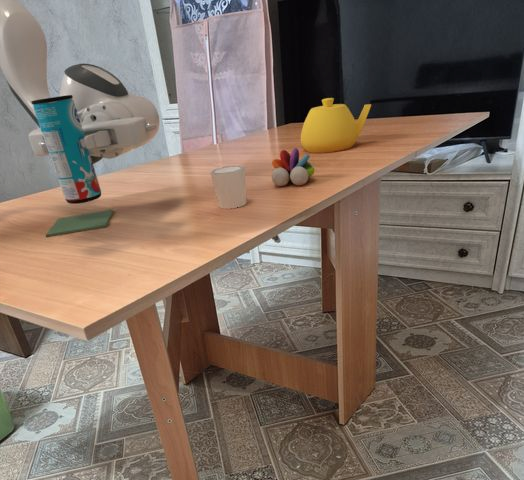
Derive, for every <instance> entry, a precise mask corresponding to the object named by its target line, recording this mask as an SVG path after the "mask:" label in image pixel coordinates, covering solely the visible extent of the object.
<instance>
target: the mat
mask: <svg viewBox="0 0 524 480" xmlns="http://www.w3.org/2000/svg"><path fill="white" fill-rule="evenodd" d="M113 214H114V209H113V208H112V209H111V208H110V209H106V210H100V211H93V212H88V213H82V214H75V215H70V216H69V215H68V216H63V217H58V219H56V221H55V222H54V223H53V225H52V226H51V227H50V228H49V230H48V231H47V232H46V233H45V237H46V238H50V237H56V236H61V235H68V234H73V233H79V232H86V231H90V230H91V231H92V230H98V229H103V228H107V227H108V224H109V222H110V220H111V219H112V215H113Z"/></svg>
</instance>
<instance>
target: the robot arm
mask: <svg viewBox="0 0 524 480" xmlns="http://www.w3.org/2000/svg"><path fill="white" fill-rule="evenodd" d="M47 66H48V45H47V39H46V35H45V33H44V30H43V28H42V26H41V24H40V23H39V22H38V20H37V19H36V17H35V16H34V15H33V14H32V12H30V11H29V10H28V9H27V8H26V7H24V5H22V3H20V2H19V1H17V0H0V69H1V71H2V73H3V75H4V77H5V79H6V83H7V85H8V87H9V89H10V91H11V93H12V95H13V96H14V98H15V99H16V100H17V102H19V104H20V105H21V106H22V108H23V109H24V110H25V111H26V113H27V114H28V115H29V116H30V118H31V119H32V120H33V121H34V123H35V124H36V126H38V128H35V129H34V130H31V131H30V132H29V133H28V140H29V144H30V147H31V149H32V151H33V153H34V155H35V156H37V157H44V156H50V154H49V152H48V149H47V146H46V143H45V140H44V137H43V134H42V131H41V129H40V126H39V123H38V120H37V117H36V114H35V111H34V108H33V106H34V105H33V104H32V101H35V100H40V99H46V98H52V97H51V94H50V91H49V86H48V75H47V73H48V72H47V70H48V69H47ZM66 95H72V96H73V98H72V99H73V100H74V103H75V106H76V110H77V113H78V116H79V119H80V123H81V126H82V129H83V132H84V136H82V137H80V138H79V143H80V144H81V145H80V146H81V148H82V149H83V150H85V149H89V152H90V156H91V159H92V162H93V165H95V164H96V163H98V162H100V161H102V159H107V160H108V159H109V160H110V159H114V158H118V157H120V156H122V155H125V154H126V153H128V152H131V151H132V150H134V149H137V148H140V147H143V146H145V145H146V144H148V143H149V142H150V141H152V139H154V137H156V135H157V133H158V131H159V128H160V115H159V111H158V108H157V107H156V106H155V104H154V103H153V102H152V101H151V100H150V99H148V98H146V97H144V96H141V95H136V94H132V93H130V92H129V91H128V89H127V88H126V86H125V85H124V84H123V83H122V82H121V80H120V79H119V78H118V77H116V75H115V74H113V73H112V72H110V71H109V70H107V69H105V68H103V67H101V66H98V65H95V64H90V63H77V64H74V65H71V66H68V67H67V68H66V69H64V73H63V76H62V80H61V86H60V91H59V95H58V97H59V96H66Z"/></svg>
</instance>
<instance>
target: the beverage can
mask: <svg viewBox="0 0 524 480" xmlns="http://www.w3.org/2000/svg"><path fill="white" fill-rule="evenodd" d="M72 98H73V96H72V95H66V96H59V95H58V96H53V97H51V98H46V99H40V100H35V101H32V104H33V105H34V106H33V108H34V111H35V114H36V117H37V120H38V123H39V126H40V129H41V131H42V134H43V137H44V140H45V143H46V146H47V149H48V152H49V154H50V155H49V157H50V160H51V163H52V166H53V169H54V172H55V175H56V177H57V181H58V183H59V187H60V189H61V192H62V194H63V197H64V200H65V201H66V202H67V203H68V204H71V205H78V204H86V203H89V202H93V201H95V200H97V199H99V198H100V197H101V196H102V189H101V186H100V183H99V180H98V177H97V173H96V170H95V166H94V164H93V162H92V159H91V156H90V152H89V149H85V150H83V149H82V148H81V146H80V145H81V144H80V143H79V138H80V137H82V136H84V132H83V129H82V126H81V123H80V119H79V116H78V113H77V110H76V106H75V103H74V100H73V99H72ZM39 126H38V127H39Z"/></svg>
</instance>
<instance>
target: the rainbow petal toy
mask: <svg viewBox="0 0 524 480" xmlns="http://www.w3.org/2000/svg"><path fill="white" fill-rule="evenodd" d="M310 157H311V156H310V154H308V153H306V154H305V155H304V156H303V157H302V158H301V159H300V150H299V149H298V148H296V147H294V148H293V149H292V150H291V153H289V151H287V150H286V149H282V150H281V151H280V153H279V158H280V159H279V158H275V159H273V160H272V161H271V162H272V163H271V166H273V168H274V169H273V171H272V173H271V180H272V183H273V184H274V185H275V186H277V187H285V186H286V185H288V183H289V181H291V183H293V185H295V186H303V185H305V184H306V183H307V182H308V180H309V179H311V177H312V176H313V175H314V174H315V171H316V170H315V167H314V166H313V163H312V162H310V161H309V159H310Z"/></svg>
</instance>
